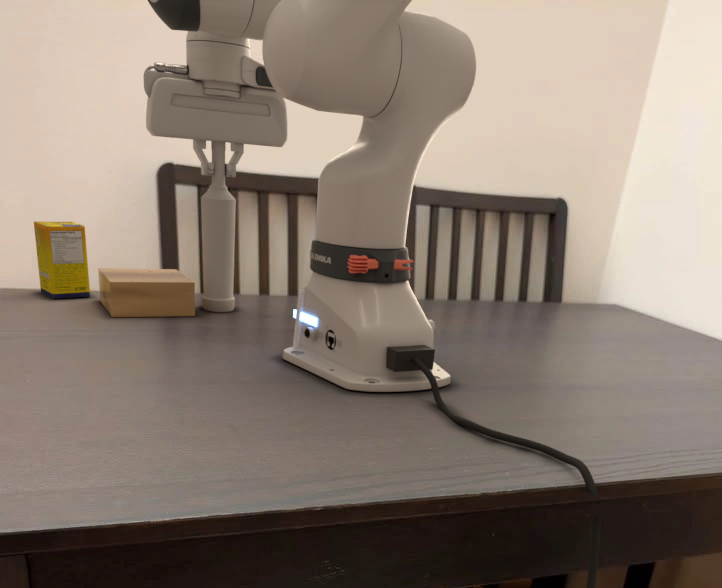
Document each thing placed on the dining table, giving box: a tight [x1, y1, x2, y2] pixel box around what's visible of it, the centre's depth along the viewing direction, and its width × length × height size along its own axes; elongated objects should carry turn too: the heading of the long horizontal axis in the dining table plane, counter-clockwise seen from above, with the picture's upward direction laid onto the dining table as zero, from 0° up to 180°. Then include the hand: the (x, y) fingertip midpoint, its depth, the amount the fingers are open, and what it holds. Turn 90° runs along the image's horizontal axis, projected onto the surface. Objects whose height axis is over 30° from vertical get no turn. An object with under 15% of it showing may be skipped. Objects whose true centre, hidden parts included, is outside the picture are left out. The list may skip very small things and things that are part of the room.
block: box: [97, 267, 196, 318], centre depth 111 cm, size 12×12×5 cm
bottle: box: [200, 141, 237, 313], centre depth 111 cm, size 5×5×25 cm
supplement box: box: [33, 220, 91, 300], centre depth 114 cm, size 6×6×11 cm
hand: (218, 176), depth 108 cm, fingers closed on bottle, 2 cm apart
